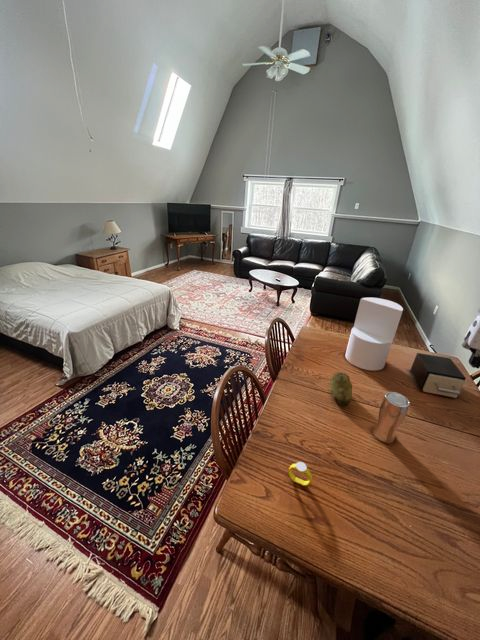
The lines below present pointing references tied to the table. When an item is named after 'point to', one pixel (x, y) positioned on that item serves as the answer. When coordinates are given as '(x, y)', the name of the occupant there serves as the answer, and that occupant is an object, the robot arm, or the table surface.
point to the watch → (300, 468)
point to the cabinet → (433, 368)
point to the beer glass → (390, 416)
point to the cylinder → (373, 333)
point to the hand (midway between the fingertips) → (473, 365)
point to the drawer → (443, 385)
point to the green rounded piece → (341, 388)
